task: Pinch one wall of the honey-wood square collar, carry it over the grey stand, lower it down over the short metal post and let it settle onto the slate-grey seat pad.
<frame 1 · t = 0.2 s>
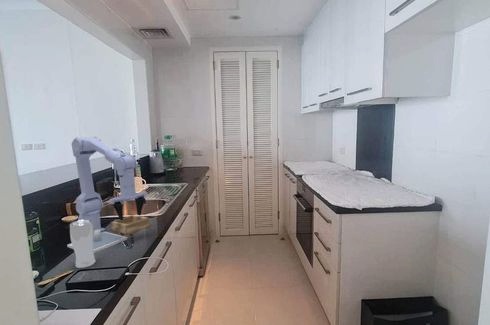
hand: (130, 217, 114), 10 cm above the worktop, tool pointing down, fingers open, 7 cm apart
beer glass: (85, 264, 94), on the worktop
wood collar: (130, 228, 129), on the worktop
post stand: (98, 243, 113), on the worktop
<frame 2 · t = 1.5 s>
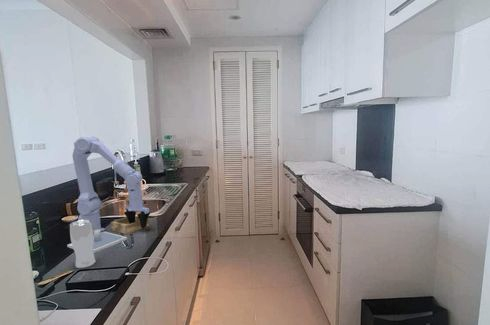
hand: (138, 226, 127), 2 cm above the worktop, tool pointing down, fingers open, 7 cm apart
nothing on the worktop moved.
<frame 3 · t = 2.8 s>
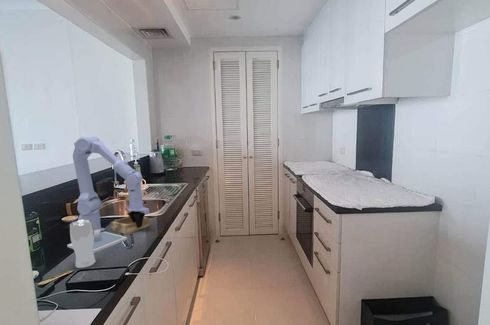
hand: (138, 226, 127), 1 cm above the worktop, tool pointing down, fingers closed on wood collar
wood collar: (130, 228, 129), on the worktop, touching gripper
everything else where it was.
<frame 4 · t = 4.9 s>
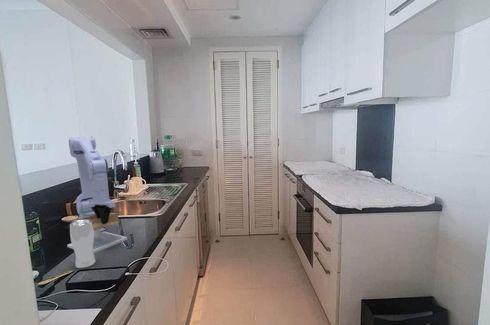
hand: (103, 223, 109), 9 cm above the worktop, tool pointing down, fingers closed on wood collar
wood collar: (96, 226, 112), point 7 cm above the worktop, tilted 6°, touching gripper
everything else where it was.
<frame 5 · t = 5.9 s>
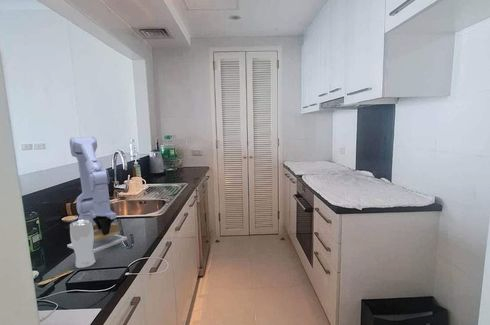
hand: (104, 234, 109), 5 cm above the worktop, tool pointing down, fingers closed on wood collar
wood collar: (97, 237, 112), point 3 cm above the worktop, tilted 5°, touching gripper
everything else where it was.
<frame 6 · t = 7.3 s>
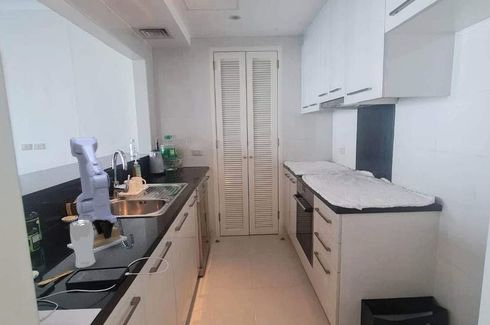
hand: (105, 237, 109), 3 cm above the worktop, tool pointing down, fingers open, 3 cm apart
wood collar: (98, 240, 112), point 1 cm above the worktop, touching post stand
everything else where it was.
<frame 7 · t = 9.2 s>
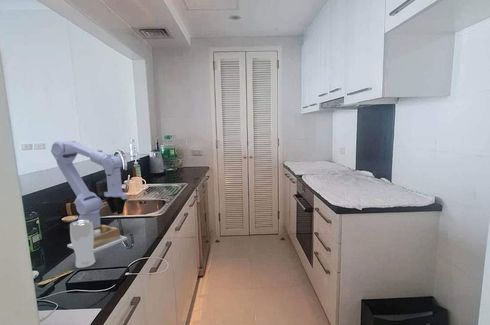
hand: (117, 213, 122), 9 cm above the worktop, tool pointing down, fingers open, 4 cm apart
nothing on the worktop moved.
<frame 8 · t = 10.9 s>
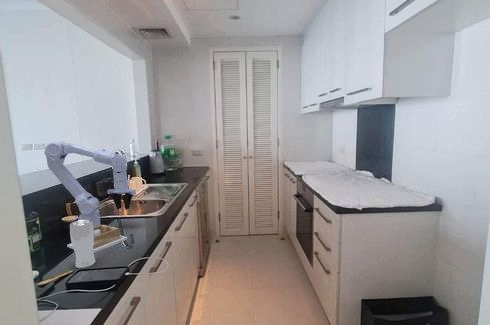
hand: (123, 208, 129), 9 cm above the worktop, tool pointing down, fingers open, 4 cm apart
nothing on the worktop moved.
at the end: wood collar 0.1 cm from the post stand (horizontally); wood collar point 1.2 cm above the worktop; the gripper is holding nothing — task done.
